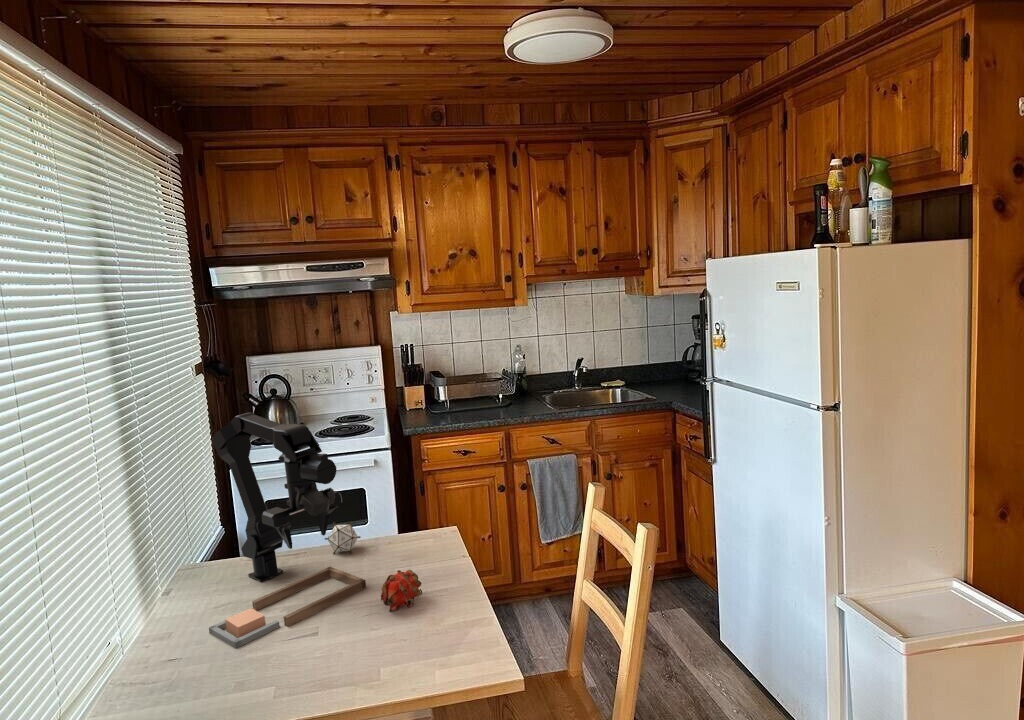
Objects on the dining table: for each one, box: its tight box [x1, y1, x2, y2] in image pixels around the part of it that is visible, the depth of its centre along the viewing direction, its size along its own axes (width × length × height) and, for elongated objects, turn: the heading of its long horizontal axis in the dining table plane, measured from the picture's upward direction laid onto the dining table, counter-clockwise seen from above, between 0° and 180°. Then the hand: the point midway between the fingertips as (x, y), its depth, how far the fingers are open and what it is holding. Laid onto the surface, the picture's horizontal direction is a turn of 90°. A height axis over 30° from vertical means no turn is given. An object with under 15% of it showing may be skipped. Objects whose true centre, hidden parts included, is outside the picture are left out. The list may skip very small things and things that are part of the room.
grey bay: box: [208, 607, 281, 649], centre depth 155 cm, size 11×10×1 cm
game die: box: [324, 521, 362, 555], centre depth 194 cm, size 9×8×10 cm
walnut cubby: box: [251, 566, 367, 627], centre depth 168 cm, size 14×21×2 cm
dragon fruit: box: [380, 569, 423, 613], centre depth 160 cm, size 8×8×12 cm
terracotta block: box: [224, 607, 267, 638], centre depth 156 cm, size 6×6×3 cm
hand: (307, 541), depth 171 cm, fingers open, 9 cm apart
